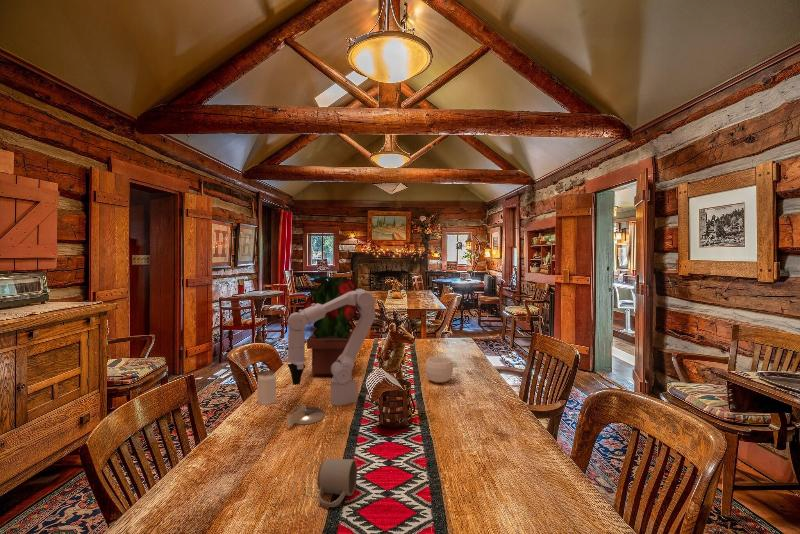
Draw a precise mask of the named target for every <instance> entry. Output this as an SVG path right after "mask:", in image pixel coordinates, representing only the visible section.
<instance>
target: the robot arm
mask: <svg viewBox="0 0 800 534" xmlns="http://www.w3.org/2000/svg"><path fill="white" fill-rule="evenodd" d="M375 304H376V300H375V297H374V296H373V294H372V293H371V292H370V291H368V290H365V289H364V288H356V290H355V291H350V292H348V293H346V294H344V295H342V296H340V297H337V298H335V299H333V300H331V301H329V302H327V303H325V304H323V305H321V304H319V303H317V304H315V303H313V304H311V306H310V307H308V308H306V309H304V308H303V309H302V308H301V309H299V310H298V312H296V311H295V312H293V313H291V314H290V315H289V316H288V318H287V323H288V326H289V327H288V336H287V339H288V341H287V343H288V345H287V347H288V349H287V350H288V351H287V357H288V358H284V362H285V363H288V364H287V367H288V369H289V372H290V376H291V381H292V385H294V386H295V385H300V383H301V380H302V375H303V374H304V373H303V372H304V371H305V368H306V364H305V361H306V357H305V355H306V354H305V353H306V352H305V350H306V348H305V347H306V345H305V343H306V342H305V341H306V335H305V327H306V326H307V325H308V326H310V325H311V324H314V323H315V322H316V321H318V320H320V319H322V318H324V317H325V314H326V313H327V312H329V311H332V310H334V309H337V308H339V307H342V306H344V305H354V306H357V307H358V313H360V316H359V317H360V318H359V319H358V321H357V323H356V325H355V327H354V329H353V331H352V332H353V333H352V335H351V337H350V339H349V341H348V343H347V345H346V347H345V349H344V351H343V353H342V354H341V355H340V356H339V357H338V359H337V360H336V361H335V362H334V363H333V364H332V366H331V373H332V374H333V377H332V378H331V379H330V404H331V405H334V406H345V405H349V404H355V403H358V385H357V383H358V382H357V381H356V380H355V379H352V376H353V375H352V373H353V369H354V365H355V359H356V358H357V355H358V353H359V351H360V349H361V347H362V345H363V343H364V341H365V339H366V337H367V335H368V333H369V331H370V329H371V327H372V325H373V322H374V320H375V318H376V305H375ZM309 324H310V325H309Z"/></svg>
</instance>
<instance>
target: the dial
mask: <svg viewBox="0 0 800 534" xmlns="http://www.w3.org/2000/svg"><path fill="white" fill-rule="evenodd" d="M324 417H325V412H324V410H323V409H322V408H319V407H316V406H306V404H304V403H303V404H301V405H299V406H298V407H296V408H294V409H292V410H290V411H288V412H287V413H286V426H287V427H288V426H289V427H291V426H292V425H295V426H296V425H298V426H305V425H306V426H307V425H312V424H316V423H318V422H320V421H322V420H323V419H324Z"/></svg>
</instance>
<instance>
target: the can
mask: <svg viewBox="0 0 800 534" xmlns="http://www.w3.org/2000/svg"><path fill="white" fill-rule="evenodd" d="M276 401H277V376H276V374H275V371H274V370H262V371H260V372H259V373H258V376H257V404H258V405H263V406H264V405H265V406H266V405H271V404H274V403H276Z"/></svg>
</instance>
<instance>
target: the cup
mask: <svg viewBox="0 0 800 534" xmlns="http://www.w3.org/2000/svg"><path fill="white" fill-rule="evenodd" d="M424 370H425V371H424V372H425V374H426V378H428V379H429V380H430V381H431V382H432V383H433V382H434V384H437V383H442V384H444V382H445V383H446V382H448V381H450V380H451V378H452V376H453V372H454V364H453V359H450V358H448V357H443V356H432V357H429V358H427V359H426V361H425V366H424Z"/></svg>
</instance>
